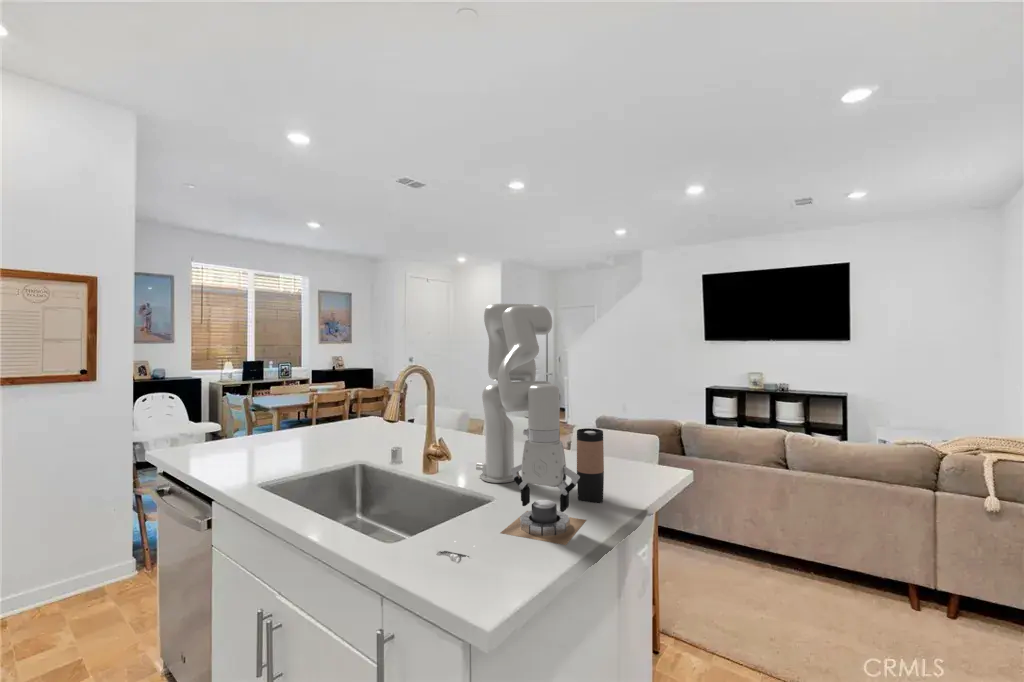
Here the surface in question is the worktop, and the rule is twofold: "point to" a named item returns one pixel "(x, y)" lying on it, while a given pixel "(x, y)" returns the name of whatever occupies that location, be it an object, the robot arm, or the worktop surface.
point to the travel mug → (590, 465)
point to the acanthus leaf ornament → (452, 555)
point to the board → (559, 539)
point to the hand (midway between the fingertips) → (544, 507)
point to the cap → (544, 512)
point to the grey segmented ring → (545, 525)
